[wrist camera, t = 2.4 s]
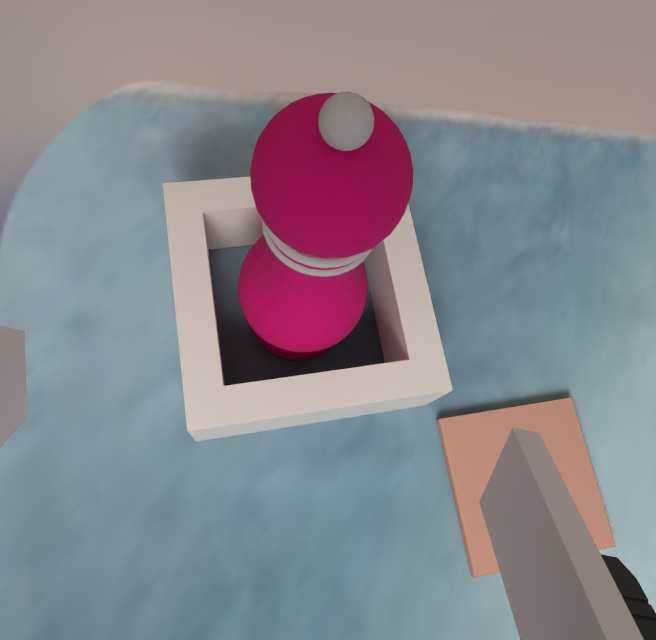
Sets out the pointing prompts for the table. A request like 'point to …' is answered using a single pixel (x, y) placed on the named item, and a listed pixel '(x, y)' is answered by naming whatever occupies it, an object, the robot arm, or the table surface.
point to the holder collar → (303, 390)
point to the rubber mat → (483, 453)
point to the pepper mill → (320, 219)
